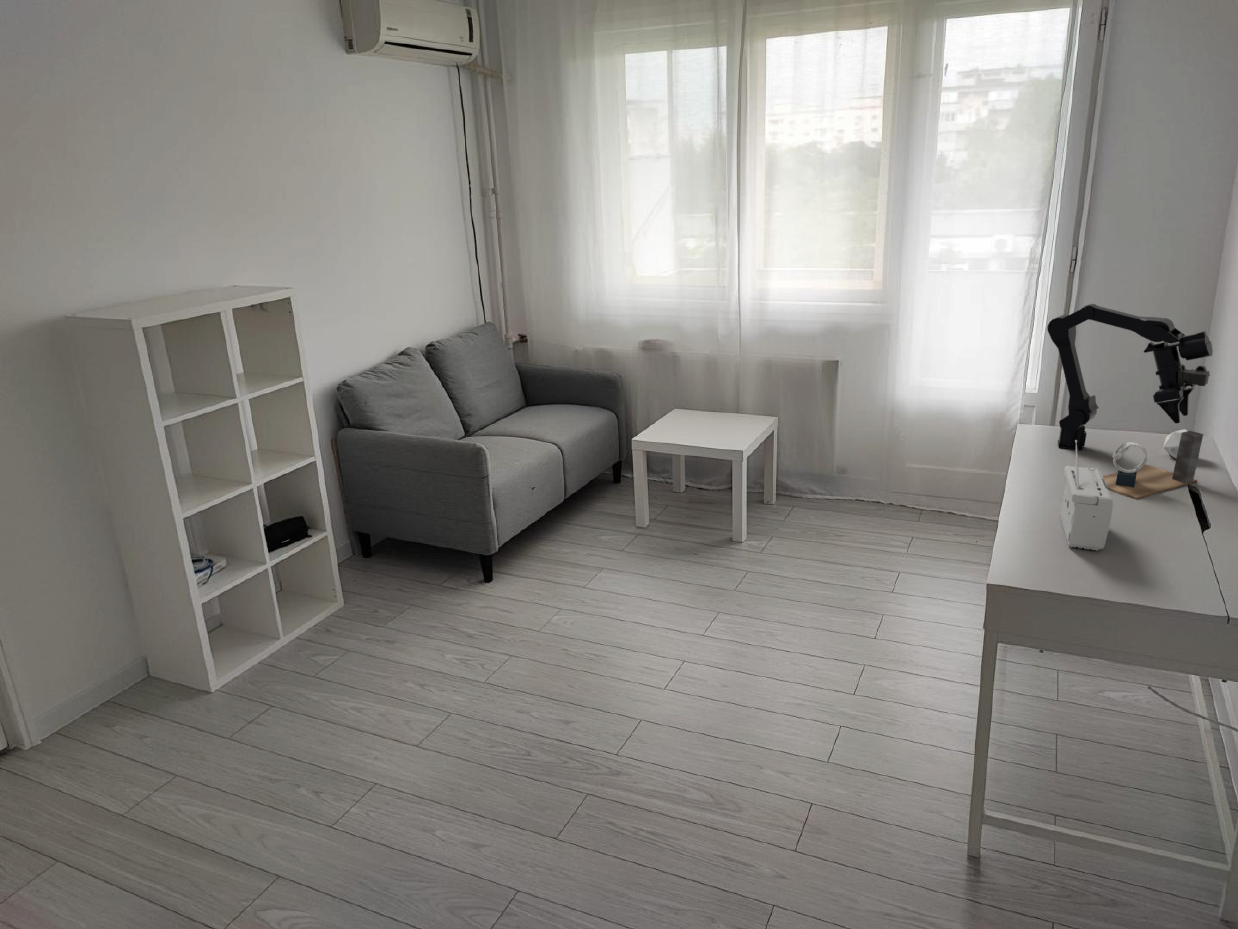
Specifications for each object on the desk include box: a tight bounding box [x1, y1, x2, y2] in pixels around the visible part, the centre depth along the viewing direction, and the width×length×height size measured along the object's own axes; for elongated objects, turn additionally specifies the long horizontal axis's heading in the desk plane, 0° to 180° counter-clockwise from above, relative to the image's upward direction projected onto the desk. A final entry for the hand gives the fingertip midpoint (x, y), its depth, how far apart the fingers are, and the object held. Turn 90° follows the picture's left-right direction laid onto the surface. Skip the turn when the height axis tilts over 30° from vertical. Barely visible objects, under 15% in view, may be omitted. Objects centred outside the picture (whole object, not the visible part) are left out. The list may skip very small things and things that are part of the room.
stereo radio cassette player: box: [1060, 440, 1114, 551], centre depth 204 cm, size 21×8×20 cm, turn 160°
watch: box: [1112, 441, 1148, 487], centre depth 234 cm, size 6×8×11 cm
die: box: [1162, 428, 1188, 460], centre depth 254 cm, size 8×9×10 cm
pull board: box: [1102, 430, 1204, 500], centre depth 235 cm, size 14×25×14 cm, turn 117°
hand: (1181, 419), depth 244 cm, fingers open, 9 cm apart
